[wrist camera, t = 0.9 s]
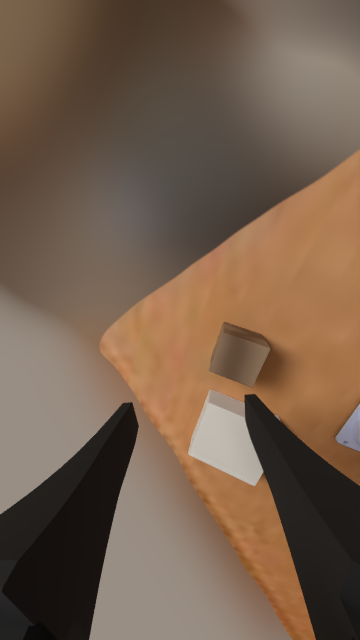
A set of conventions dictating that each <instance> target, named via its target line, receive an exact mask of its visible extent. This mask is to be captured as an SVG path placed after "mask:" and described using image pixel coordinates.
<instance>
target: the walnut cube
mask: <svg viewBox="0 0 360 640" xmlns="http://www.w3.org/2000/svg"><path fill="white" fill-rule="evenodd" d="M270 349H271V348H270V347H269V345H268V344H267V342H266V341H265V339H264V337H263V336H262V334H259V333H256V332H253V331H250V330H247V329H244V328H241V327H238V326H235V325H232V324H229V323H226V322H224V323H223V325H222V328H221V331H220V334H219V336H218V339H217V342H216V345H215V347H214V350H213V353H212V357H211V363H210V368H209V371H210V372H213V373H215V374H218V375H220V376H223V377H226V378H228V379H231V380H233V381H236V382H239V383H241V384H244V385H246V386H249V387H253V385H254V383H255V381H256V379H257V376H258V374H259V372H260V370H261V368H262V366H263V364H264V362H265V359H266V357H267V355H268V353H269V351H270Z"/></svg>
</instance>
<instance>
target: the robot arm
mask: <svg viewBox="0 0 360 640" xmlns="http://www.w3.org/2000/svg"><path fill="white" fill-rule="evenodd" d="M245 422H246V425H247V429H248V432H249V436H250V439H251V441H252V444H253V446H254V449H255V452H256V454H257V457H258V459H259V462H260V464H261V467H262V469H263V471H264V474H265V476H266V479H267V481H268V484H269V487H270V489H271V492H272V495H273V498H274V501H275V504H276V507H277V510H278V514H279V517H280V520H281V523H282V526H283V529H284V533H285V536H286V539H287V542H288V546H289V549H290V552H291V555H292V559H293V562H294V565H295V569H296V572H297V575H298V579H299V582H300V586H301V589H302V592H303V596H304V599H305V603H306V606H307V610H308V613H309V617H310V620H311V624H312V627H313V631H314V634H315V638H316V640H360V486H359V485H357V484H356V483H355V482H353V481H352V480H351V479H349V478H348V477H346V476H345V475H344V474H342V473H341V472H340V471H338V470H337V469H335V468H334V467H333V466H332V465H330V464H329V463H328V462H326V461H325V460H324V459H323V458H321V457H320V456H319V455H318V454H316V453H315V452H314V451H313V450H312V449H310V448H309V447H308V446H307V445H306V444H305V443H303V442H302V441H301V440H300V439H299V438H298V437H297V436H296V435H295V434H293V433H292V432H291V431H290V430H289V429H288V428H287V427H286V426H285V425H284V424H283V423H282V422H281V421H280V420H279V419H278V418H277V417H276V416H275V415H274V414H273V413H272V412H271V411H270V410H269V409H268V408H267V407H266V406H265V404H264V403H263V402H262V401H261V400H260V399H259V398H258V397H257V396H256V395H255V394H249V395H245ZM138 427H139V426H138V422H137V418H136V415H135V411H134V407H133V403H132V402H130V403H123V404H122V405H121V406H120V407H119V409H118V410H117V411H116V412H115V413H114V414H113V415H112V416H111V418H110V419H109V420H108V421H107V422H106V423H105V424H104V425H103V426H102V428H101V429H100V430H99V431H98V432H97V433H96V434H95V435H94V436H93V437H92V438H91V439H90V440H89V441H88V442H87V443H86V444H85V446H84V447H82V448H81V449H80V451H78V452H77V453H76V454H75V455H74V456H73V457H72V458H71V459H70V460H69V461H68V462H67V463H65V464H64V465H63V466H62V467H61V468H60V469H59V470H58V471H56V472H55V473H54V474H53V475H51V476H50V477H49V478H48V479H47V480H45V481H44V482H43V483H42V484H41V485H39V486H38V487H37V488H36V489H34V490H33V491H32V492H30V493H29V494H28V495H27V496H25V497H24V498H22V499H21V500H20V501H18V502H17V503H16V504H14V505H13V506H12V507H10V508H9V509H7V510H6V511H5V512H4V513H2V514H0V640H89V636H90V631H91V625H92V620H93V614H94V609H95V604H96V599H97V593H98V588H99V582H100V577H101V572H102V567H103V563H104V558H105V553H106V548H107V543H108V539H109V534H110V530H111V526H112V521H113V517H114V513H115V509H116V504H117V500H118V497H119V493H120V490H121V486H122V483H123V480H124V477H125V474H126V471H127V468H128V464H129V461H130V458H131V455H132V452H133V449H134V446H135V442H136V437H137V432H138ZM335 439H336V441H337V442H338V443H339V444H342V445H344V446H347V447H349V448H352V449H354V450H357V451H359V452H360V404H359V405H358V407H357V408H356V409H355V411H354V412H353V414H352V415H351V416H350V418H349V419H348V421H347V422H346V423H345V425H344V426H343V428H342V429H341V430H340V432H339V433H338V434H337V436H336V438H335ZM344 441H345V442H344Z"/></svg>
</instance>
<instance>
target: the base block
mask: <svg viewBox="0 0 360 640" xmlns="http://www.w3.org/2000/svg"><path fill="white" fill-rule="evenodd" d="M275 416H276V415H275ZM276 417H277V418H278V419H279V416H276ZM279 420H280V419H279ZM188 455H190V456H192V457H194V458H197V459H199V460H201V461H203V462H205V463H207V464H209V465H211V466H213V467H215V468H217V469H219V470H222V471H224V472H226V473H228V474H230V475H232V476H234V477H236V478H238V479H240V480H242V481H244V482H247V483H249V484H251V485H253V486H255V485H256V483H257V482H258V480H259V478H260V477H261V475H262V473H263V472H264V471H263V469H262V467H261V464H260V462H259V459H258V457H257V454H256V452H255V449H254V446H253V444H252V441H251V439H250V436H249V432H248V429H247V425H246V422H245V403H244V402H241V401H239V400H236V399H234V398H231V397H229V396H226V395H224V394H221V393H219V392H216V391H214V390H211V389H210V391H209V394H208V396H207V399H206V401H205V404H204V407H203V409H202V412H201V414H200V417H199V420H198V422H197V425H196V427H195V430H194V433H193V435H192V438H191V443H190V448H189V452H188Z"/></svg>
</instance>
